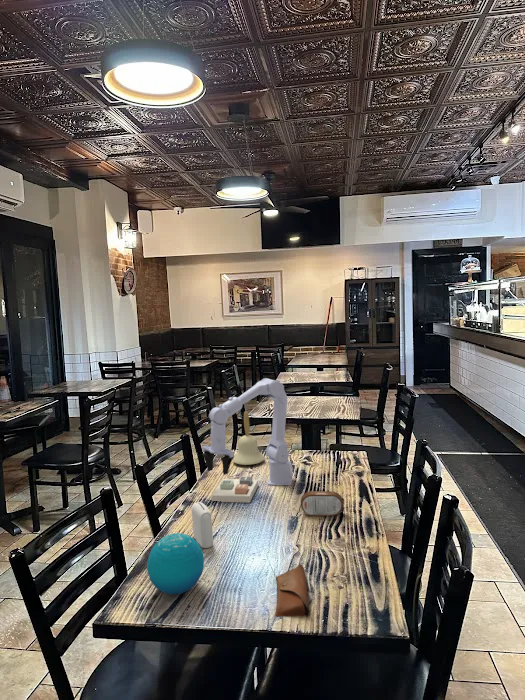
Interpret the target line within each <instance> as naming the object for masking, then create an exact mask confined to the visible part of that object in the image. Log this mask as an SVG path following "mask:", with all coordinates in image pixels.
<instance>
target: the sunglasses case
mask: <svg viewBox="0 0 525 700" xmlns="http://www.w3.org/2000/svg"><path fill="white" fill-rule="evenodd" d="M306 578H307V577H306V571H305V567H304V565H301V564H298V565H297V566H296V567H294V568H292V569H290V570H287V571H286V572H283V573H281V574H279V575H276V576H275V581H276V607H275V616H276V617H309V615H310V605H309V595H308V587H307V585H308V584H307V579H306Z"/></svg>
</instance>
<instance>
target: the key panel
mask: <svg viewBox="0 0 525 700" xmlns="http://www.w3.org/2000/svg"><path fill="white" fill-rule="evenodd" d="M240 479H241V478H240ZM240 479H239V478H238V479H237V478H234V479H233V478H222V480H221V481H220V482H219V484H218V485H217V487H216V488H215V490H214V491H213V493H212V494H211V502H212V501H219V502H220V501H221V502H220V503H251V501H252V499H253V497H254V495H255V493H256V491H257V489H258V487H259V480H258V479H252V482H253V483H252V485H251V486H248V490H249V491H248V493H247V494H235V487H236V486H237V484H240V482H239V481H240ZM223 480H233V482H234V487H233V488H232V490H227V489H220V484H221V482H222V481H223Z"/></svg>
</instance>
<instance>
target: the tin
mask: <svg viewBox="0 0 525 700" xmlns="http://www.w3.org/2000/svg"><path fill="white" fill-rule="evenodd" d="M343 499H344V498H343V497H342V496H341V494H340V493H338V492H336V491H334V490H333V491H332V490H331V491H329V490H328V491H326V490H324V491H323V490H310V491H306V492H305V493H303V495H302V496H301V498H300V507H301V510H302V512H303V513H304V514H305V515H307V516H311V517H334V516H338V515H339V514H340V513H341V512H342V511H343V509H344V500H343Z"/></svg>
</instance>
